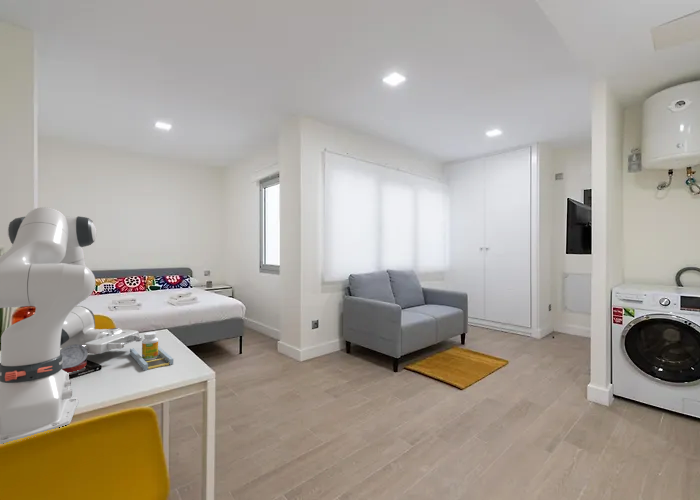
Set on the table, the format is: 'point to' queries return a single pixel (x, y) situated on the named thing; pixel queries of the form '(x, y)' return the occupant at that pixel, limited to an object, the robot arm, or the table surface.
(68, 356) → the canned food
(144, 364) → the channel
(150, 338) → the supplement bottle
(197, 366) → the table surface
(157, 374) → the table surface
